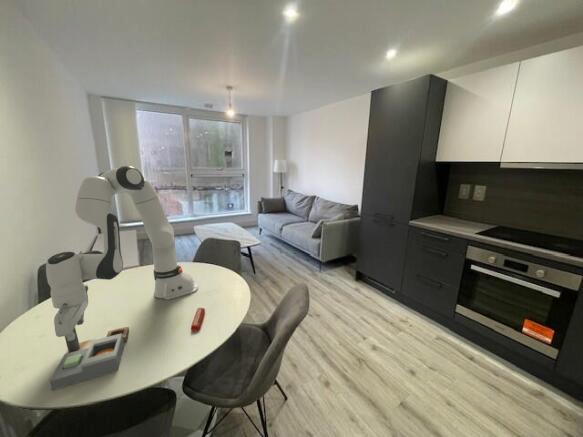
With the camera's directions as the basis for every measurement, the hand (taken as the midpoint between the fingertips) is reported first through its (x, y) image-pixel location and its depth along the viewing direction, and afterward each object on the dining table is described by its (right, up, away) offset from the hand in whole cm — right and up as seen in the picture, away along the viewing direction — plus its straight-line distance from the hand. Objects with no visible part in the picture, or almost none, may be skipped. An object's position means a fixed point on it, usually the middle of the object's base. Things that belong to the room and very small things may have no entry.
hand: (76, 331), depth 87 cm
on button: (+6, -8, -8) cm, 13 cm away
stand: (+10, -7, +8) cm, 14 cm away
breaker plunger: (+14, -9, -4) cm, 17 cm away
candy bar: (+38, -5, +20) cm, 43 cm away
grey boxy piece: (+10, -10, -5) cm, 15 cm away
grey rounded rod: (-2, -7, +1) cm, 8 cm away
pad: (0, -8, +2) cm, 8 cm away
